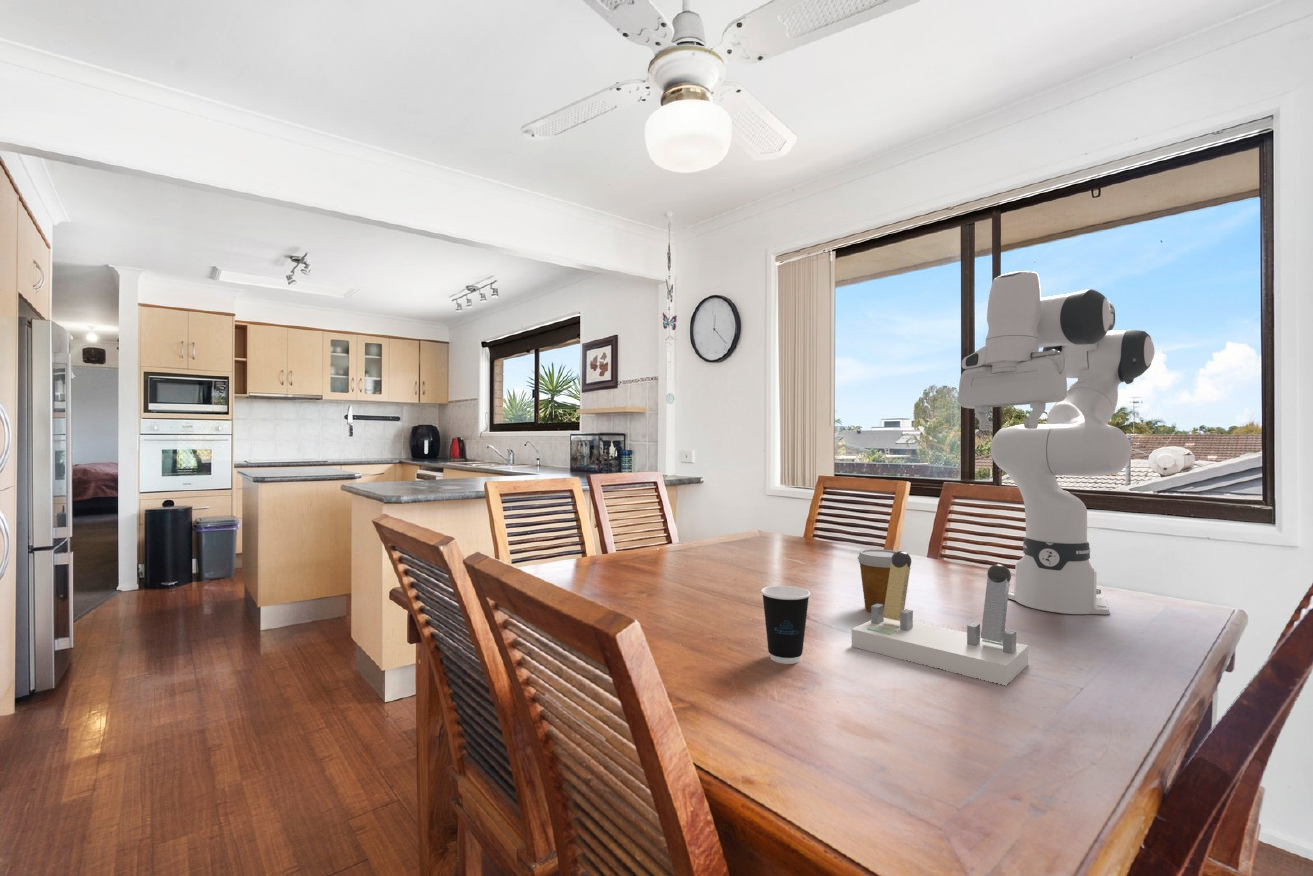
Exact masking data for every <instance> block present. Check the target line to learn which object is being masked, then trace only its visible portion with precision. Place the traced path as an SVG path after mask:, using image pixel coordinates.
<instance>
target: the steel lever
mask: <svg viewBox="0 0 1313 876" xmlns="http://www.w3.org/2000/svg"><path fill="white" fill-rule="evenodd" d="M986 575H987V580H986V586H985V587H986V588H985V596H984V597H985V598H984V605H983V606H984V607H983V613H982V614H983V615H982V622H981V630H980V636H981V638H982V639H984V640H989V641H994V642H999V643H1003V632H1005V631H1006V630H1005V629H1006V622H1007V611H1008V601H1009V598H1008V594H1009V592H1010V584H1011V579H1012V573H1011V570H1010V569H1009V567H1008V566H1005V565H1003V564H999V563H997V564H992V565H991V566H990V567H988V569H987V572H986Z"/></svg>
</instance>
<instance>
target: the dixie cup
mask: <svg viewBox="0 0 1313 876" xmlns="http://www.w3.org/2000/svg"><path fill="white" fill-rule="evenodd" d="M760 593H761V595H762V601H763V602H762V603H763V610H764V620H765V633H766V641H767V651H768V653H769V658H770V660H771V661H773V662H775V663H777V664H782V665H792V664H798V663H799V662H800V661H801V658H802V655H803V650H804V642H805V633H806V624H807V623H806V622H807V614H808V606H809V599H810V598H809V597H811V595H812V594H811V592H810V590H808V589H806V588H802V587H799V586H793V585H792V586H791V585H770V586H769V585H768V586H766V587H763V588H762V589H760Z"/></svg>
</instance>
